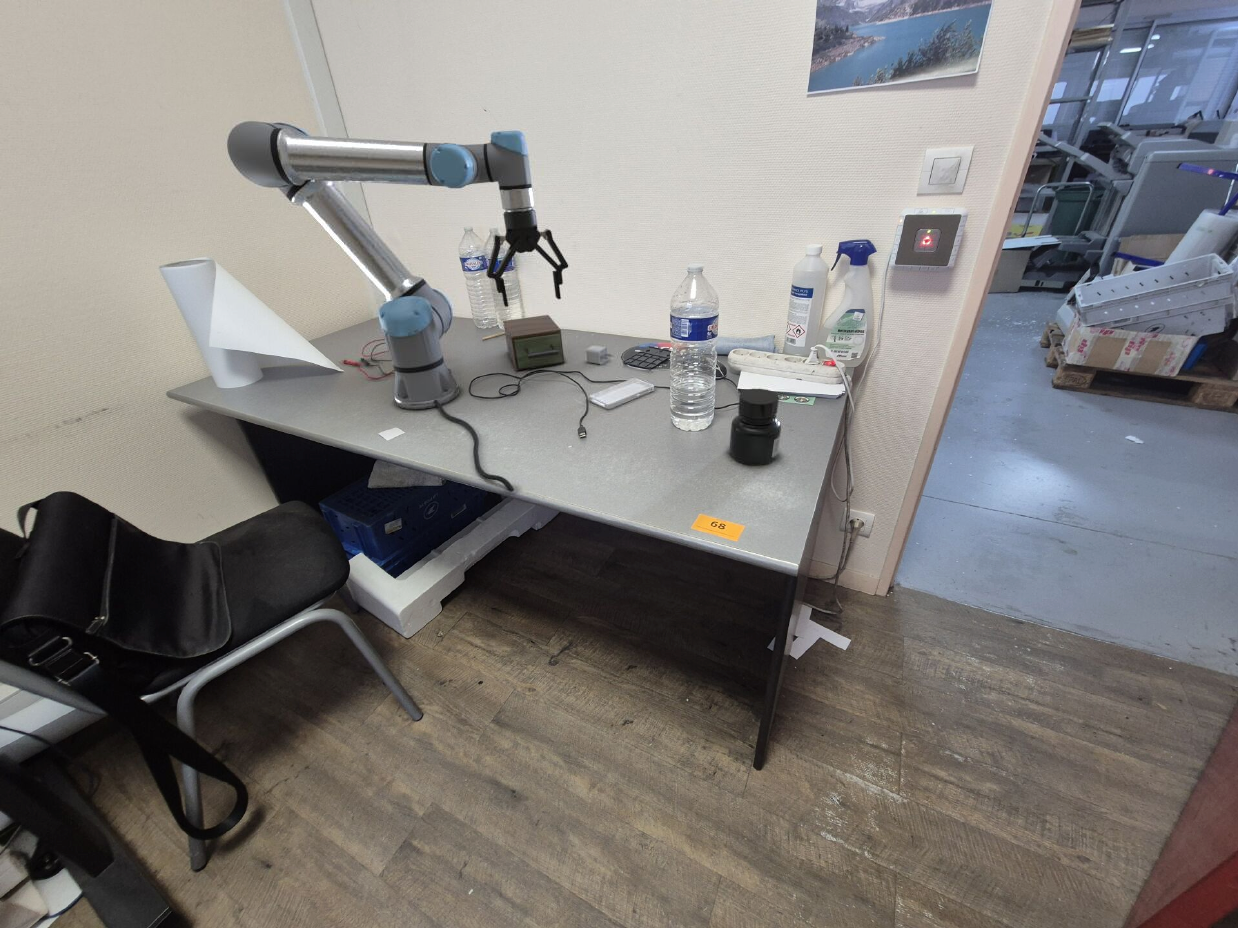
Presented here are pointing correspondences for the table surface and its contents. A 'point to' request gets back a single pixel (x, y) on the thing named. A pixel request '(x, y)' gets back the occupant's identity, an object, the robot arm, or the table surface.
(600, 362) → the usb wall charger
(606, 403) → the phone case
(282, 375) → the table surface
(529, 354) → the drawer
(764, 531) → the table surface
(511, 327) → the cabinet
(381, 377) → the multimeter test leads
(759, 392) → the ink bottle
